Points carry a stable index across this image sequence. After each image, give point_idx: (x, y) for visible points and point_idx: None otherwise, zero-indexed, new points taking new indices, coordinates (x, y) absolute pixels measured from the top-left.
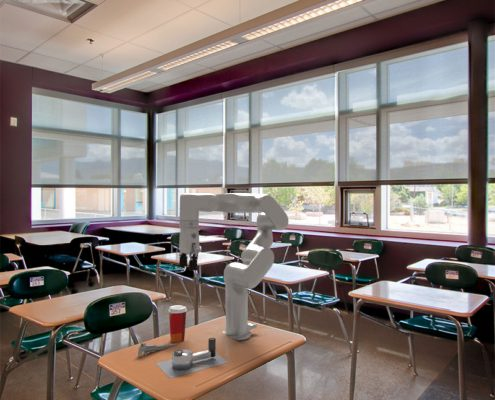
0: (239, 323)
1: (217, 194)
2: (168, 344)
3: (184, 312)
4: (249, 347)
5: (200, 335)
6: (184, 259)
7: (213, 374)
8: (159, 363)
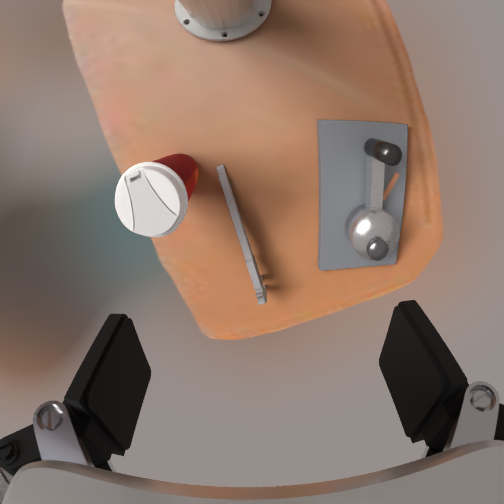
0: None
1: None
2: (234, 220)
3: (178, 179)
4: (327, 14)
5: (166, 97)
6: (115, 398)
7: (413, 172)
8: (325, 264)
